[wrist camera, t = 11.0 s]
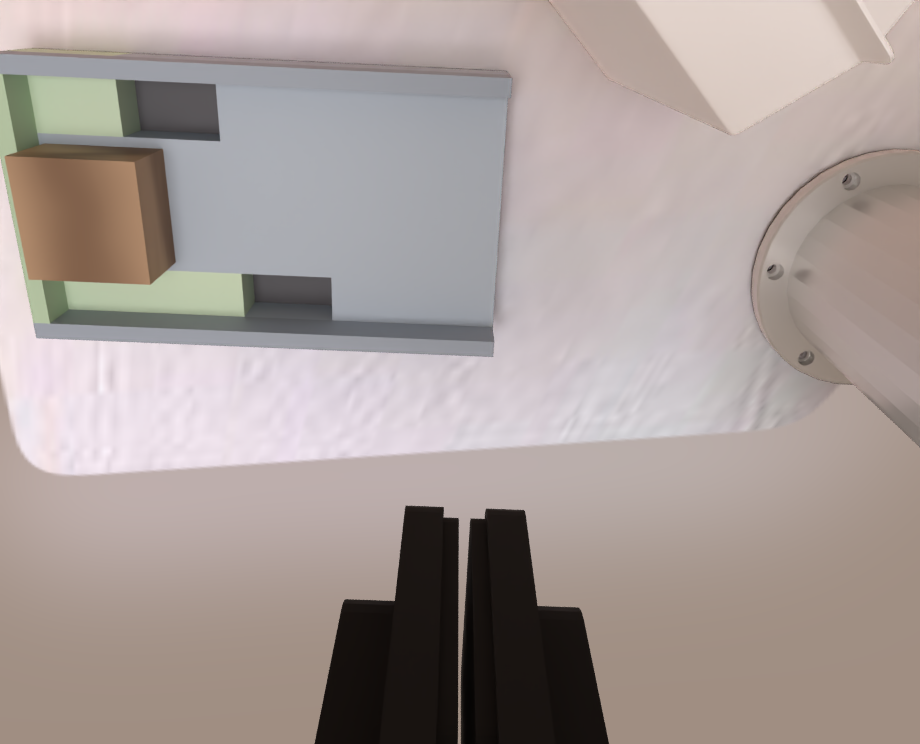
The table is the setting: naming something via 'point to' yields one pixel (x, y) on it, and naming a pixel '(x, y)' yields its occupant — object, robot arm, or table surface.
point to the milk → (730, 49)
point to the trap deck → (283, 198)
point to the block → (92, 213)
